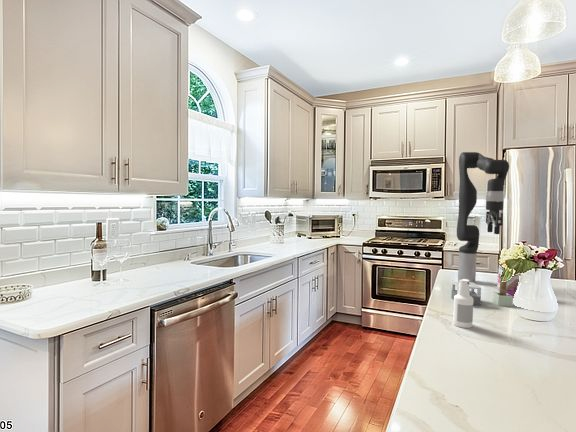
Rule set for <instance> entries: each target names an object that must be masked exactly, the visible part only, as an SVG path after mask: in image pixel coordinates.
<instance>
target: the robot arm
mask: <svg viewBox="0 0 576 432" xmlns="http://www.w3.org/2000/svg"><path fill="white" fill-rule="evenodd" d="M477 168H478V169H479V170H481V171H483V172H484V173H485V174H487V175H497V177H495V178H491V179H489V180H487V189H486V200H485V210H487V211H486V212H485V213H486V215H485V223H486V224H487V230H486V231H487V233H493V234H494V235H500V232H501V231H500V230H501V226H503V224H504V223H503V221H504V219H503V217H504V215H503V214H504V213H503V212H500V211H503V210H504V206H505V205H504V201H505V194H504V188H505V187H504V186H505V181H506V178H507V175H508V172H509V169H510V162H508V161H507V160H506V159H494V158H491V157H487V156H484V155H483V154H481V152H477V151H476V152H475V151H473V152H472V151H463V152H461V153H460V155H459V157H458V172H459V187H458V214H457V215H458V216H457V225H456V237H457V240H458V241H460V242H466V243H465V244H464V245H461V246H460V247H459V249H458V271H457V282H460V280H462V279H467V280H469V282H474V283H475V284H476V280H477V279H476V276H477V254H478V248H479V243H480V229H479V227H478V226H477V225H474V224H469V225H468V218H469V216H470V214H471V213H472V211H473V210H474V208H475V206H476V205H477V201H478V195H477V194H478V191H477V188H476V186H475V185H474V184H473V182H472V181H471V179H470V177H469V174H468V169H477ZM493 229H494V230H493Z"/></svg>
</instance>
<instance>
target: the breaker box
mask: <svg viewBox="0 0 576 432" xmlns="http://www.w3.org/2000/svg"><path fill="white" fill-rule="evenodd" d="M469 286H470V296H471V297H472V298H473V299H474V300H473V306H481V302H482V298H481V297H482V287H481V286H479V285H478V284H477V283H476V282H475V283H474V282H469ZM458 290H459V281H453V280H452V281H451V294H450V296H451V298H450V299H452V300H453V301H454V296H455V295H457V294H458ZM475 290H476V291H477V292H475Z"/></svg>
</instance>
